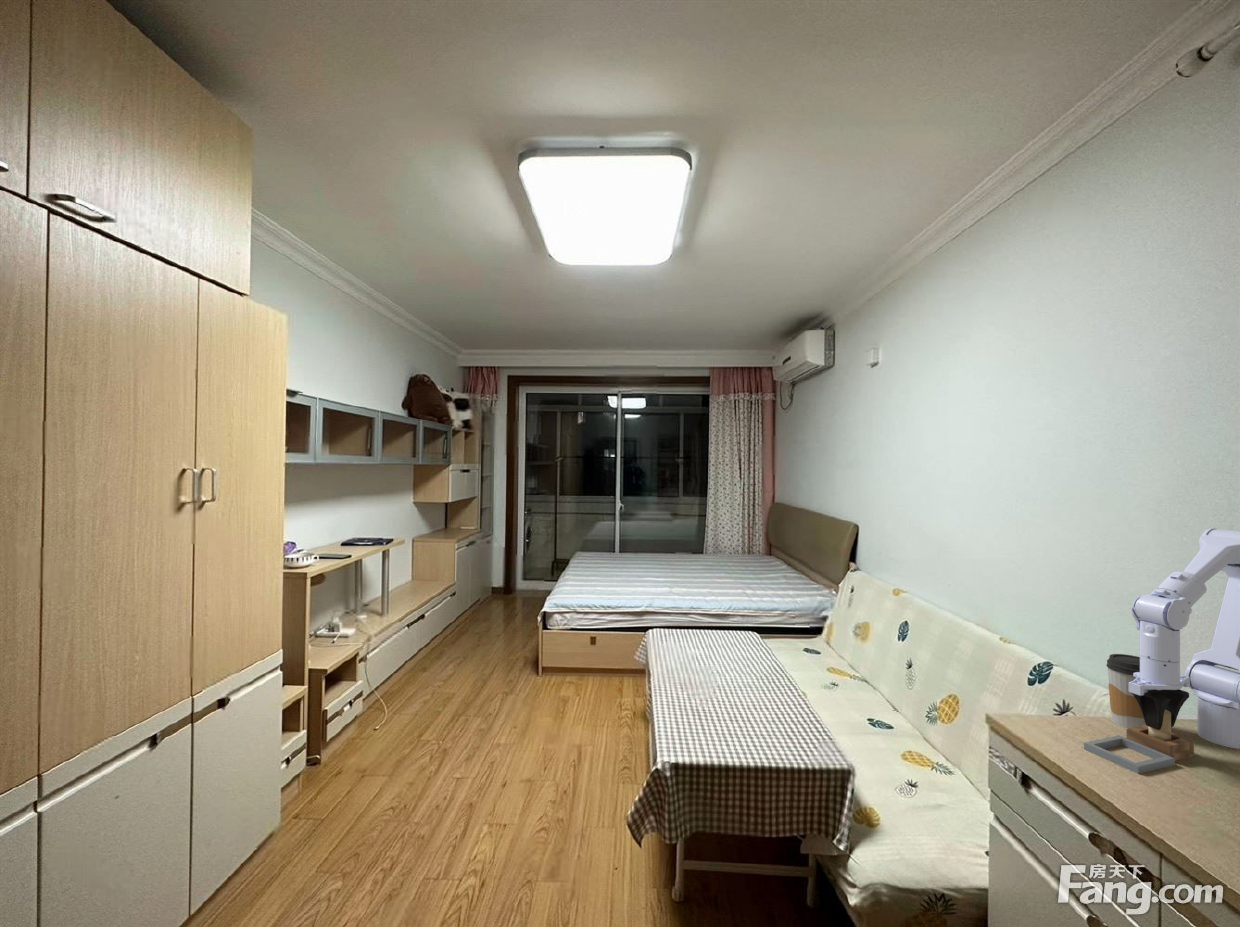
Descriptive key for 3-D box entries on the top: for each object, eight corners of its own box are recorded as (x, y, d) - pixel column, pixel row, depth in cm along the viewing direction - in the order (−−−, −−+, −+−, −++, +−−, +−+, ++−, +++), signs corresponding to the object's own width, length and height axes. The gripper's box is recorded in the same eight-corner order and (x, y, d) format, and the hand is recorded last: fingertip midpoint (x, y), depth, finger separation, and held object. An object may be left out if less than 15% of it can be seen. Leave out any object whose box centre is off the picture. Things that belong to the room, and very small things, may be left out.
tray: (1119, 746, 112) (1119, 735, 112) (1174, 770, 103) (1174, 758, 103) (1084, 754, 109) (1084, 742, 109) (1138, 779, 100) (1138, 766, 100)
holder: (1150, 743, 113) (1150, 724, 113) (1193, 761, 106) (1193, 740, 106) (1126, 748, 111) (1126, 729, 111) (1169, 767, 104) (1169, 746, 104)
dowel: (1155, 740, 111) (1155, 706, 111) (1175, 748, 108) (1175, 713, 108) (1144, 743, 110) (1144, 708, 110) (1164, 751, 107) (1164, 715, 107)
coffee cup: (1169, 740, 115) (1169, 668, 115) (1122, 736, 116) (1122, 665, 116) (1140, 721, 123) (1140, 654, 123) (1097, 718, 124) (1097, 651, 124)
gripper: (1159, 647, 115) (1159, 712, 115) (1110, 654, 110) (1110, 722, 110) (1203, 658, 108) (1203, 728, 108) (1153, 666, 104) (1153, 738, 104)
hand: (1159, 726), depth 109 cm, fingers closed on dowel, 3 cm apart
